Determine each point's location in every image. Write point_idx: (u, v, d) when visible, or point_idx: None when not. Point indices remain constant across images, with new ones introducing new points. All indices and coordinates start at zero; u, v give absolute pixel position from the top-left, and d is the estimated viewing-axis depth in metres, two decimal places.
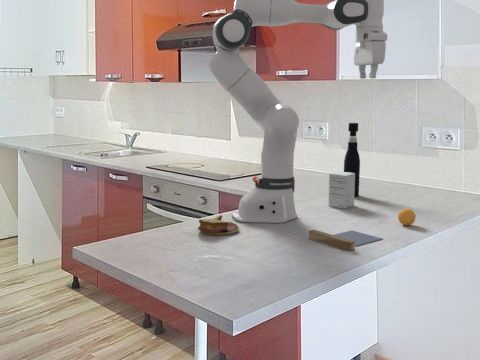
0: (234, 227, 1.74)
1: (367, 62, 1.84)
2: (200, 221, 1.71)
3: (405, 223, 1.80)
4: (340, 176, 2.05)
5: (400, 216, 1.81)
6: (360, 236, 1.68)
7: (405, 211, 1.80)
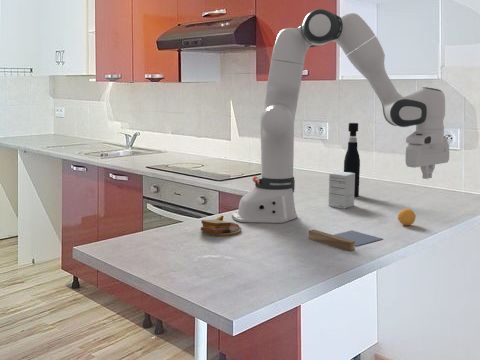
0: (236, 227, 1.73)
1: None
2: (203, 222, 1.70)
3: (405, 223, 1.80)
4: (340, 176, 2.05)
5: (400, 216, 1.81)
6: (360, 236, 1.68)
7: (405, 211, 1.80)
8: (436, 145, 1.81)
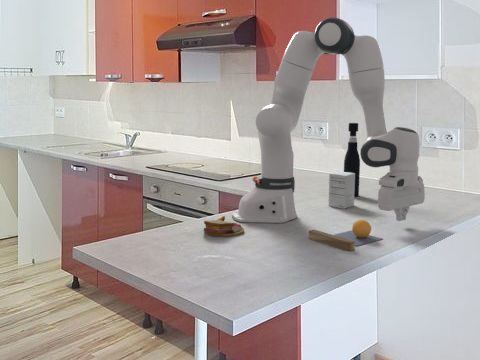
0: (239, 228, 1.73)
1: None
2: (206, 222, 1.69)
3: None
4: (340, 176, 2.05)
5: None
6: None
7: (360, 237, 1.66)
8: (410, 187, 1.76)
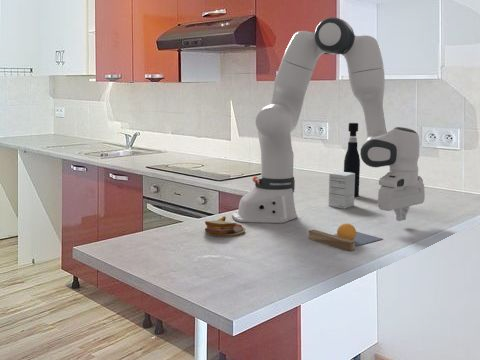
0: (240, 228, 1.73)
1: None
2: (207, 223, 1.69)
3: (345, 227, 1.60)
4: (340, 176, 2.05)
5: None
6: (360, 236, 1.68)
7: None
8: (410, 187, 1.76)
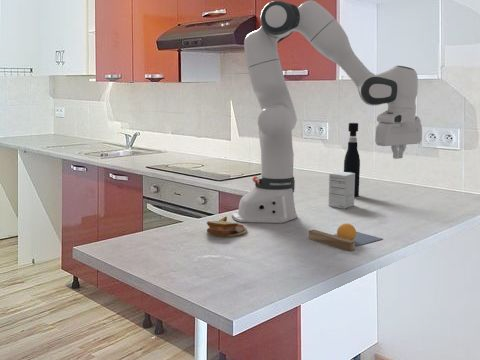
0: (242, 228, 1.73)
1: None
2: (209, 223, 1.68)
3: (345, 227, 1.60)
4: (340, 176, 2.05)
5: None
6: (360, 236, 1.68)
7: None
8: (407, 124, 1.79)
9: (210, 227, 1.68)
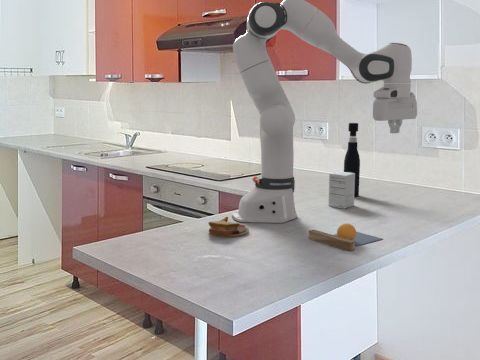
0: (244, 228, 1.72)
1: None
2: (211, 223, 1.68)
3: (345, 227, 1.60)
4: (340, 176, 2.05)
5: None
6: (360, 236, 1.68)
7: None
8: (403, 100, 1.85)
9: (212, 227, 1.68)
